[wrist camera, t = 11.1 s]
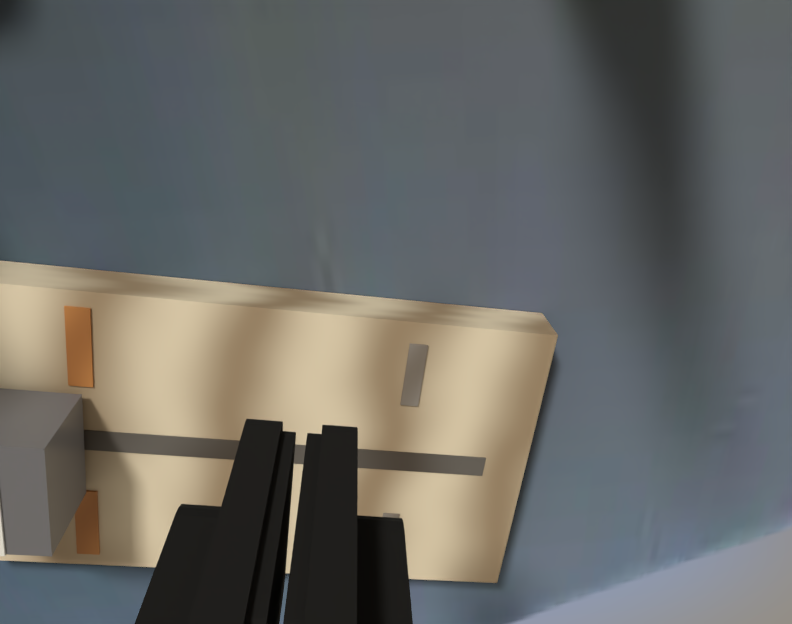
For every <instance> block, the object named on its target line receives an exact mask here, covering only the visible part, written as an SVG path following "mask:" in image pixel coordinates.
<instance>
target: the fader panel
mask: <svg viewBox="0 0 792 624" xmlns="http://www.w3.org/2000/svg"><path fill="white" fill-rule="evenodd" d="M557 337H558V335H557V333H556V332H555V331H554V329H553V328H552V326H551V325H550V324H549V322H548V321H547V319H546V318H545V317H544V315H543V314H542V313H535V312H525V311H514V310H504V309H494V308H483V307H473V306H463V305H452V304H442V303H432V302H421V301H411V300H401V299H391V298H380V297H370V296H360V295H349V294H339V293H329V292H318V291H308V290H298V289H288V288H277V287H267V286H257V285H246V284H236V283H226V282H215V281H205V280H195V279H184V278H174V277H164V276H154V275H143V274H133V273H123V272H112V271H102V270H92V269H81V268H71V267H61V266H51V265H40V264H30V263H20V262H9V261H0V388H3V389H16V390H29V391H43V392H56V393H69V394H82V404H83V427H84V450H85V472H86V494H85V496H84V498H83V500H82V501H81V503H80V505H79V507H78V509H77V511H76V513H75V514H74V516H73V518H72V520H71V522H70V524H69V526H68V527H67V529H66V531H65V533H64V535H63V537H62V539H61V540H60V542H59V544H58V546H57V548H56V550H55V552H54V553H53V555H52V557H51V556H29V555H8V554H6V555H5V556H0V560H5V561H27V562H49V563H71V564H93V565H115V566H137V567H156V565H157V562H158V560H159V557H160V554H161V552H162V549H163V546H164V543H165V541H166V538H167V535H168V533H169V530H170V527H171V525H172V522H173V519H174V516H175V514H176V512H177V510H178V507H179V506H180V505H181V504H191V505H207V506H221V505H222V502H223V498H224V495H225V491H226V488H227V484H228V481H229V477H230V474H231V470H232V467H233V463H234V459H235V456H236V452H237V449H238V445H239V442H240V438H241V435H242V431H243V428H244V424H245V421H246V419H258V420H271V421H283V431H288V432H296V442H295V455H294V468H293V481H292V494H291V507H290V520H289V533H288V546H287V559H286V572H285V573H290V567H291V559H292V551H293V543H294V535H295V527H296V519H297V511H298V503H299V495H300V487H301V479H302V471H303V463H304V455H305V448H306V440H307V433H315V434H322V424H323V425H336V426H349V427H357V428H358V503H357V515H360V516H376V517H391V518H402V520H403V523H404V530H405V542H406V553H407V565H408V576H409V579H422V580H444V581H466V582H488V583H497V581H498V577H499V573H500V569H501V565H502V561H503V557H504V553H505V549H506V544H507V540H508V536H509V532H510V528H511V524H512V520H513V516H514V512H515V508H516V504H517V500H518V496H519V492H520V488H521V483H522V479H523V475H524V471H525V467H526V463H527V459H528V455H529V451H530V447H531V443H532V439H533V435H534V431H535V427H536V423H537V418H538V414H539V410H540V406H541V402H542V398H543V394H544V390H545V386H546V382H547V378H548V374H549V370H550V366H551V362H552V357H553V353H554V349H555V345H556V341H557Z"/></svg>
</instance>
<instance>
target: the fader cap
mask: <svg viewBox="0 0 792 624" xmlns="http://www.w3.org/2000/svg"><path fill="white" fill-rule="evenodd" d="M85 494H86V472H85V450H84V427H83V404H82V394H69V393H56V392H43V391H29V390H16V389H3V388H0V556H5V555H6V554H8V555H29V556H51V557H52V555H53V553H54V552H55V550H56V548H57V546H58V544H59V542H60V540H61V539H62V537H63V535H64V533H65V531H66V529H67V527H68V526H69V524H70V522H71V520H72V518H73V516H74V514H75V513H76V511H77V509H78V507H79V505H80V503H81V501H82V500H83V498H84V496H85Z"/></svg>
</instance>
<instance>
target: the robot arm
mask: <svg viewBox="0 0 792 624" xmlns="http://www.w3.org/2000/svg"><path fill="white" fill-rule="evenodd" d="M295 442H296V432H288V431H283V421H271V420H258V419H246V421H245V424H244V428H243V431H242V435H241V438H240V442H239V445H238V449H237V452H236V456H235V459H234V463H233V467H232V470H231V474H230V477H229V481H228V484H227V488H226V491H225V495H224V498H223V502H222V505H221V506H207V505H191V504H181V505H180V506H179V507H178V510H177V512H176V514H175V516H174V519H173V522H172V525H171V527H170V530H169V533H168V535H167V538H166V541H165V543H164V546H163V549H162V552H161V554H160V557H159V560H158V562H157V565H156V568H155V570H154V573H153V576H152V579H151V581H150V584H149V587H148V589H147V592H146V595H145V597H144V600H143V603H142V606H141V608H140V611H139V614H138V616H137V619H136V622H135V624H279V621H280V613H281V606H282V598H283V590H284V582H285V572H286V559H287V546H288V533H289V520H290V507H291V494H292V481H293V468H294V455H295ZM357 503H358V428H357V427H349V426H336V425H323V424H322V434H315V433H307V440H306V448H305V455H304V463H303V471H302V479H301V487H300V495H299V503H298V511H297V519H296V527H295V535H294V543H293V551H292V559H291V567H290V575H289V583H288V591H287V599H286V607H285V615H284V623H283V624H413V622H412V611H411V599H410V588H409V576H408V565H407V553H406V542H405V530H404V523H403V520H402V518H391V517H376V516H360V515H357Z"/></svg>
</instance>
